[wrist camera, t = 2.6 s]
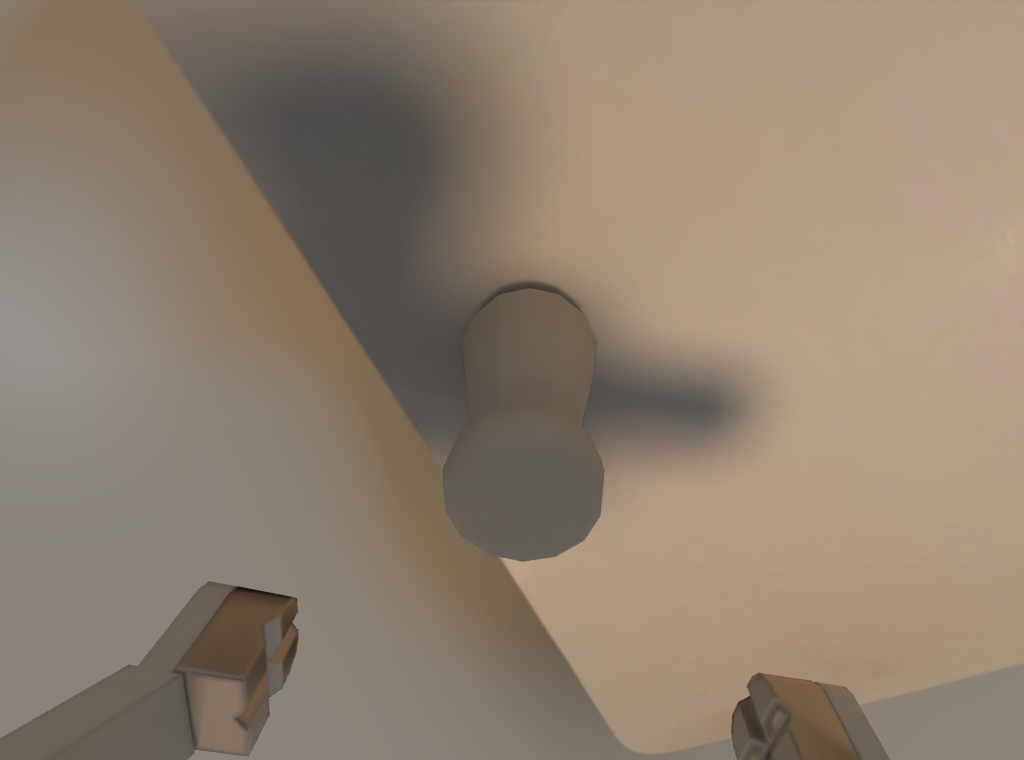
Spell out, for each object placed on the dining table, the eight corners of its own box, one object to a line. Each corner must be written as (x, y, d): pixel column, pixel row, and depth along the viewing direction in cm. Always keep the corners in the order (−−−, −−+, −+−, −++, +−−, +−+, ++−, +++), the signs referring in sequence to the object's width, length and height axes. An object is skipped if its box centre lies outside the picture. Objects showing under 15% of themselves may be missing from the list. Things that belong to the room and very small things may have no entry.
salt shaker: (486, 401, 26) (441, 612, 14) (454, 292, 24) (370, 436, 12) (601, 378, 25) (654, 583, 14) (580, 263, 23) (621, 388, 11)
